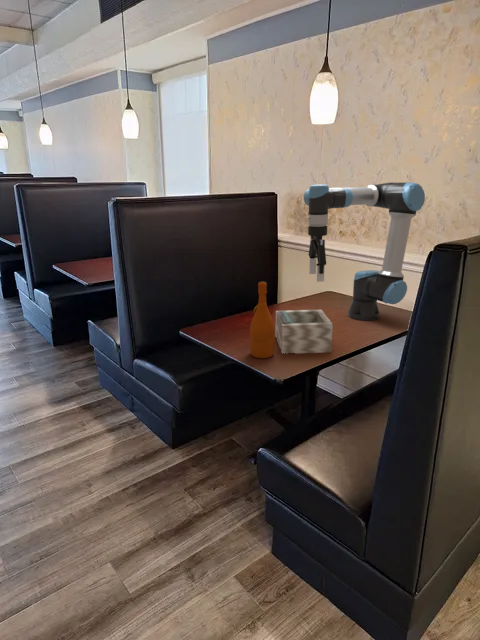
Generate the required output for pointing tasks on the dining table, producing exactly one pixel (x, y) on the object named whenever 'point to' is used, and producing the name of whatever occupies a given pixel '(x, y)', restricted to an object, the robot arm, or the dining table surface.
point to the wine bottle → (262, 327)
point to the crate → (304, 332)
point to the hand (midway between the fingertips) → (316, 277)
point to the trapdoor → (287, 318)
